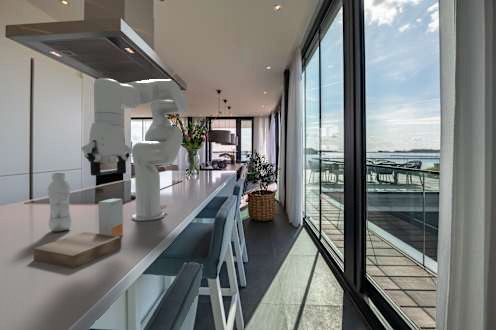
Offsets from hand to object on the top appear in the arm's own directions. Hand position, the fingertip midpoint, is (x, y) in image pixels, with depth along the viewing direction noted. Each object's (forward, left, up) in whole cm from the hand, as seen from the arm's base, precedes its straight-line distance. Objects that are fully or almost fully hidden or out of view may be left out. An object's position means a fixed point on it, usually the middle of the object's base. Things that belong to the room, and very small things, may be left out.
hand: (109, 174), depth 81 cm
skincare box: (0, 0, -21) cm, 21 cm away
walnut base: (+13, +3, -20) cm, 24 cm away
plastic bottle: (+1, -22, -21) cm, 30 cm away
